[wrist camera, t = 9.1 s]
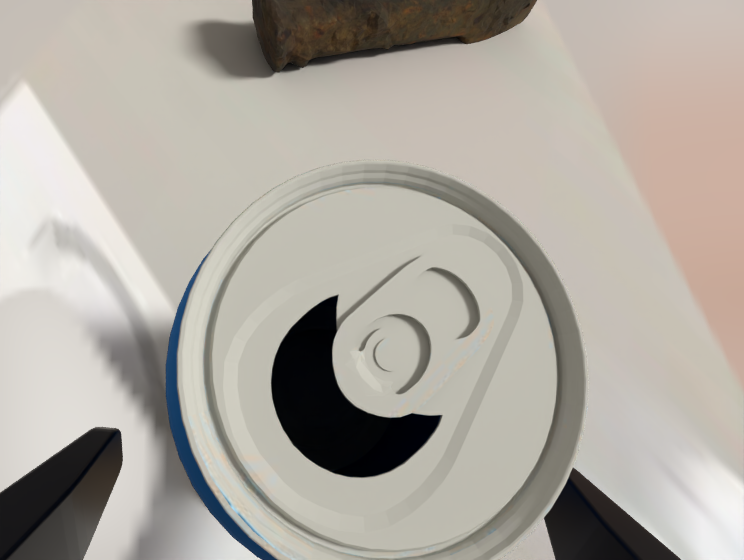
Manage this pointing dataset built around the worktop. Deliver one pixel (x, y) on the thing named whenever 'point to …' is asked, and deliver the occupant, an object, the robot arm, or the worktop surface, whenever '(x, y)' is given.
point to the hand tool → (374, 24)
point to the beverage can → (377, 371)
